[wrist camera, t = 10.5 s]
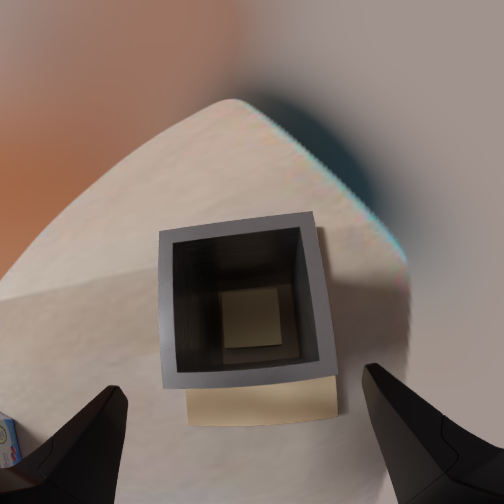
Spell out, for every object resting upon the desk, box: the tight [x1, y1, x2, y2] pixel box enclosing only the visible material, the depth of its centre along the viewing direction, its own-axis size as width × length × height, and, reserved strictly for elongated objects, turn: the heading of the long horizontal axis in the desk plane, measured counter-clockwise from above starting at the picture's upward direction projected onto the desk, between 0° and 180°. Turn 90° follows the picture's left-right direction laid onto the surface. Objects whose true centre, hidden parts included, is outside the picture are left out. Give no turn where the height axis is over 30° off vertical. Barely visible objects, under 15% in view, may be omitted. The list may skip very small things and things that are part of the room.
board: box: [186, 224, 338, 426], centre depth 18 cm, size 14×10×4 cm
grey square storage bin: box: [158, 211, 339, 389], centre depth 14 cm, size 6×6×9 cm
